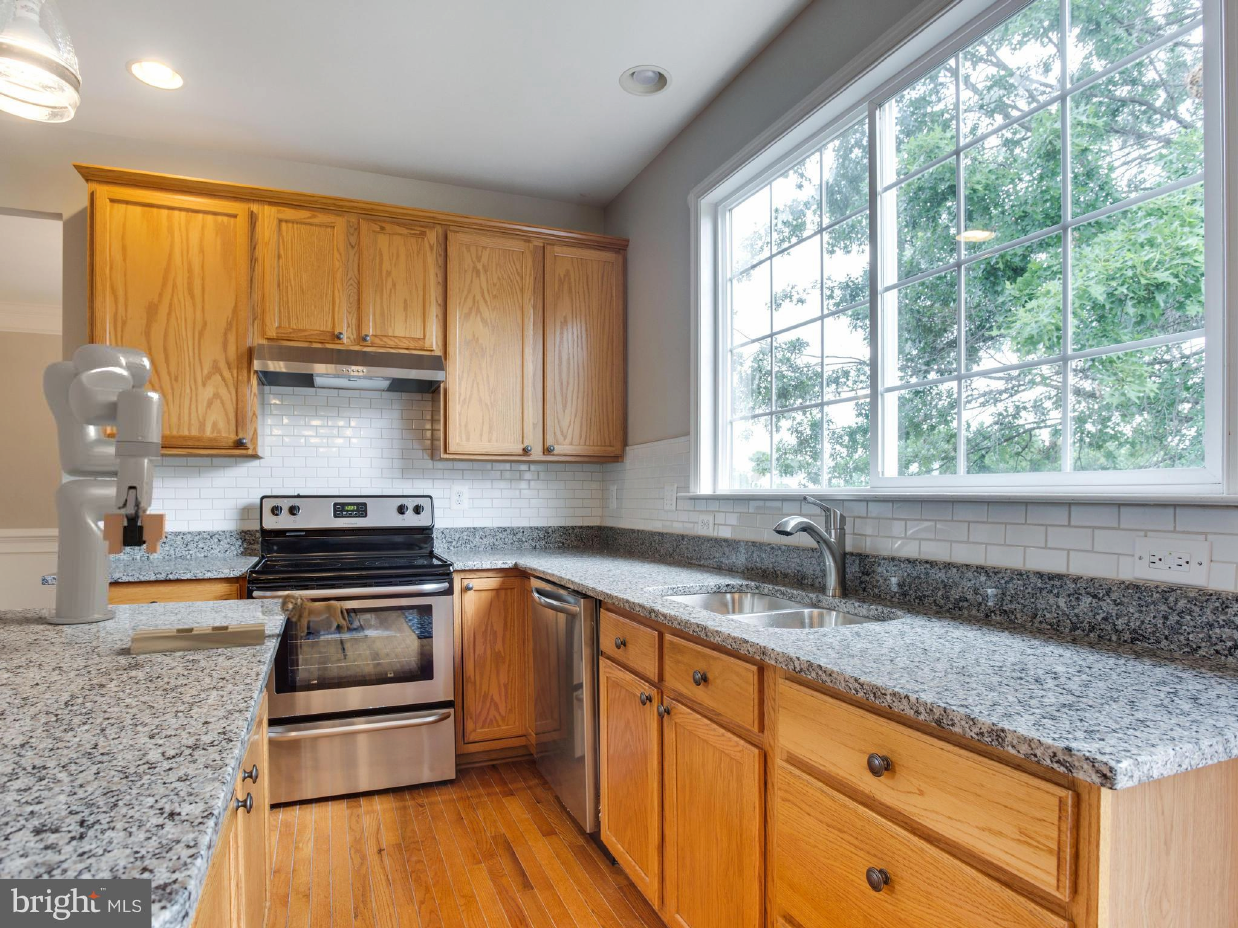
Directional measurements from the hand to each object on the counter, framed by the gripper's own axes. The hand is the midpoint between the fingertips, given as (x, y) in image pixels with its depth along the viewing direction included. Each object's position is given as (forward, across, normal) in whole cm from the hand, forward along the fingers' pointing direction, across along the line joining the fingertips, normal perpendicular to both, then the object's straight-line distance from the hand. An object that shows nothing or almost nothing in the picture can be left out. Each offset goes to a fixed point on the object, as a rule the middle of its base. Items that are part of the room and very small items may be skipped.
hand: (134, 544), depth 139 cm
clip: (+2, 0, 0) cm, 2 cm away
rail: (+19, +6, +12) cm, 24 cm away
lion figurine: (+20, +3, +33) cm, 38 cm away
